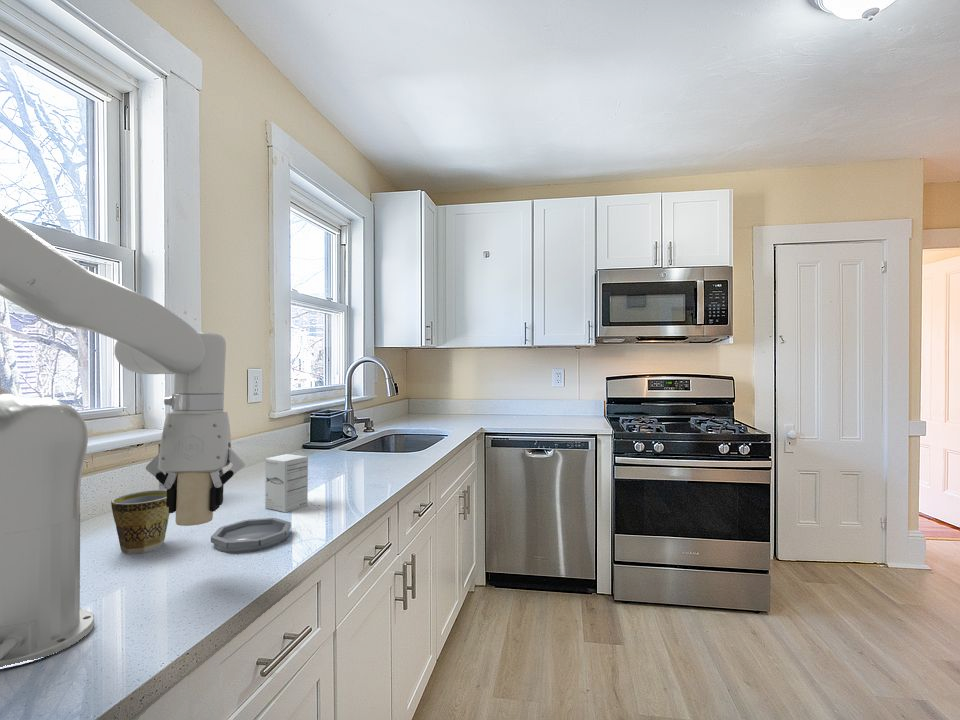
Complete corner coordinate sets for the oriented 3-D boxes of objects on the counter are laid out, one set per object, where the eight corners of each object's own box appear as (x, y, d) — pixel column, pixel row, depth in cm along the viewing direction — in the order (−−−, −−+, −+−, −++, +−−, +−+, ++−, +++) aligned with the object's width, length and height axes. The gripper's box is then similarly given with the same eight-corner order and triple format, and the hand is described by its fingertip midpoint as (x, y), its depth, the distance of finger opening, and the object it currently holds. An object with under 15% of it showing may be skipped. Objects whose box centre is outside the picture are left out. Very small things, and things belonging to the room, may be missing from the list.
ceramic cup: (183, 544, 96) (183, 494, 96) (126, 562, 87) (126, 507, 87) (150, 532, 102) (150, 485, 103) (94, 548, 94) (94, 497, 94)
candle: (195, 527, 79) (198, 466, 79) (167, 524, 80) (169, 464, 80) (220, 518, 84) (222, 460, 84) (193, 515, 85) (195, 459, 86)
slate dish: (282, 549, 93) (282, 538, 93) (203, 555, 90) (203, 544, 90) (294, 525, 107) (294, 516, 107) (225, 530, 104) (225, 521, 104)
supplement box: (264, 509, 119) (264, 458, 119) (288, 501, 126) (288, 453, 126) (284, 513, 116) (284, 460, 116) (308, 505, 122) (308, 455, 122)
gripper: (132, 405, 77) (126, 519, 76) (247, 405, 81) (243, 514, 80) (152, 402, 85) (148, 506, 84) (257, 403, 88) (254, 502, 88)
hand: (194, 509), depth 82 cm, fingers closed on candle, 5 cm apart
